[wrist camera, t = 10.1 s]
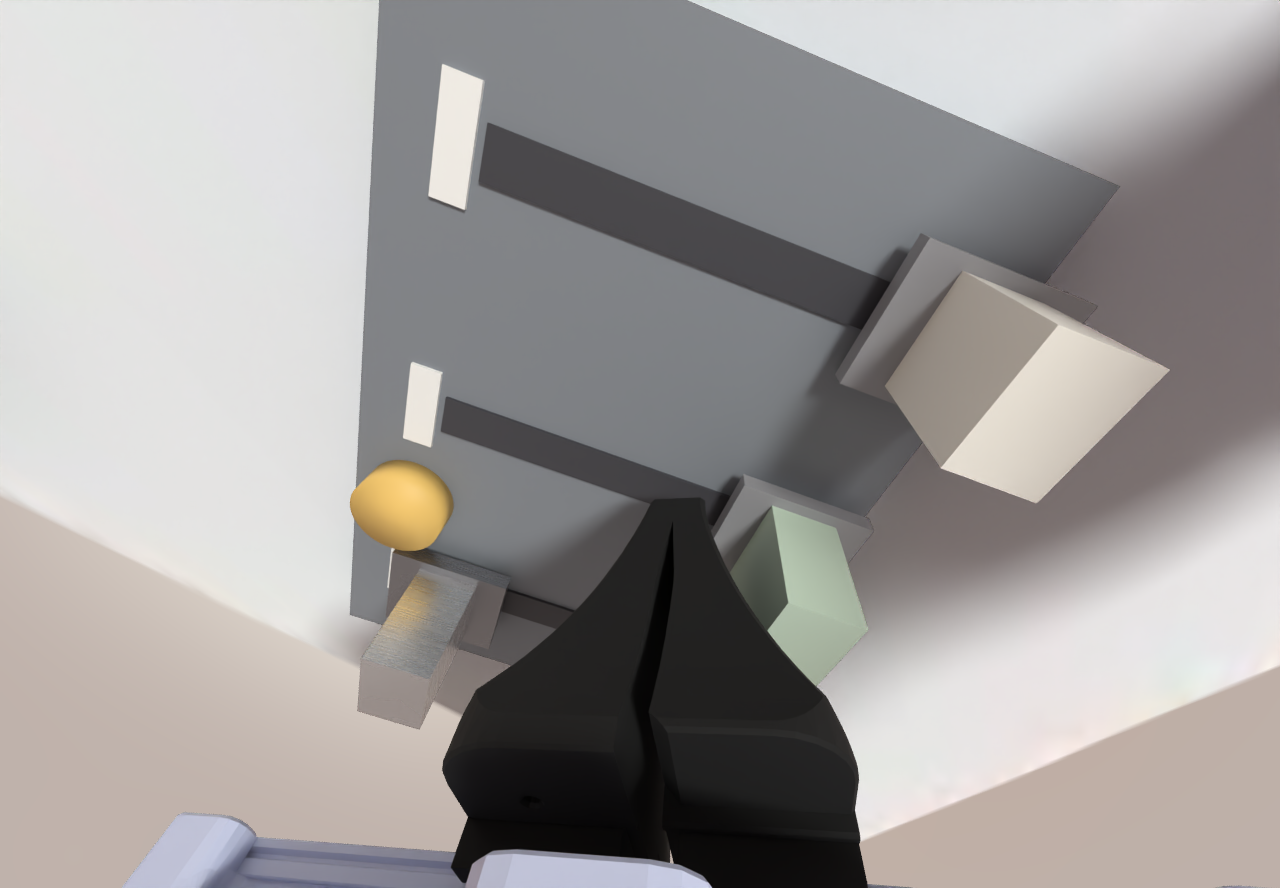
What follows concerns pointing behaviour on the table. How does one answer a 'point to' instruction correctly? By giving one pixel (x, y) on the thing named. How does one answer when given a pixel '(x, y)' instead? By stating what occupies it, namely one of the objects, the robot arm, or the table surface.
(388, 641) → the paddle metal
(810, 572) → the pale mint cube
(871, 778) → the table surface
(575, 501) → the panel
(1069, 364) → the paddle cream
